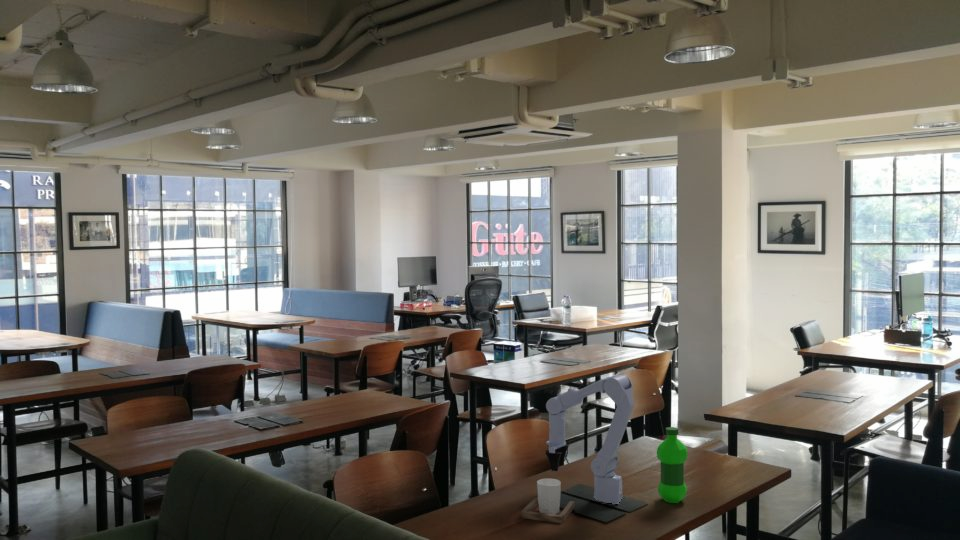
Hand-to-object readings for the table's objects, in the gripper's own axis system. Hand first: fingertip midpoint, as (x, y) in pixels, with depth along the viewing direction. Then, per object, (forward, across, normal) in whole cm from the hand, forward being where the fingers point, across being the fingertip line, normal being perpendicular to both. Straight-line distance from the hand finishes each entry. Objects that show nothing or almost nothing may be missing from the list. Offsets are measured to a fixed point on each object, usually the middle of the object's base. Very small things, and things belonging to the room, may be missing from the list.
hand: (557, 467), depth 278 cm
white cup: (+9, +21, +3) cm, 23 cm away
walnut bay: (+8, +22, +3) cm, 23 cm away
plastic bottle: (+9, -3, +40) cm, 41 cm away
